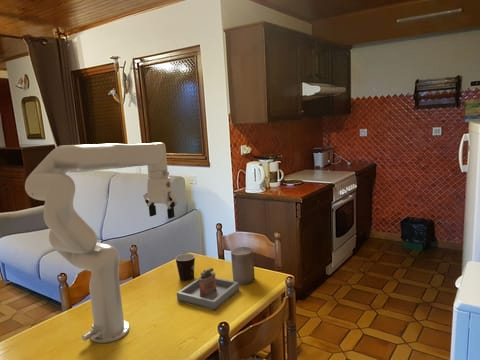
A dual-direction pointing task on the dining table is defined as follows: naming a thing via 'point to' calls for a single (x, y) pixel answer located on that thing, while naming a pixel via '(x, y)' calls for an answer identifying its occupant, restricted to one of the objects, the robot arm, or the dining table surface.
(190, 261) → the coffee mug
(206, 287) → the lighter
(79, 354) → the dining table surface
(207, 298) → the tray
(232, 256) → the pillar candle
